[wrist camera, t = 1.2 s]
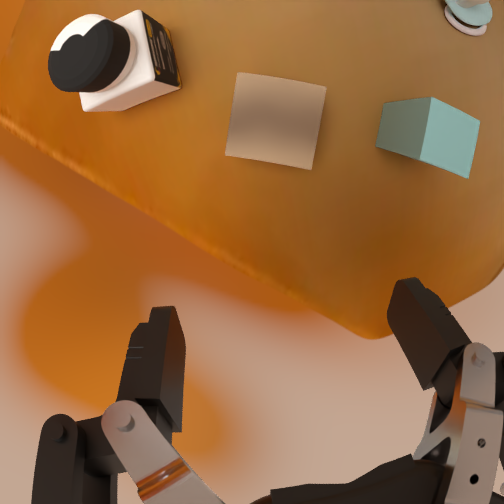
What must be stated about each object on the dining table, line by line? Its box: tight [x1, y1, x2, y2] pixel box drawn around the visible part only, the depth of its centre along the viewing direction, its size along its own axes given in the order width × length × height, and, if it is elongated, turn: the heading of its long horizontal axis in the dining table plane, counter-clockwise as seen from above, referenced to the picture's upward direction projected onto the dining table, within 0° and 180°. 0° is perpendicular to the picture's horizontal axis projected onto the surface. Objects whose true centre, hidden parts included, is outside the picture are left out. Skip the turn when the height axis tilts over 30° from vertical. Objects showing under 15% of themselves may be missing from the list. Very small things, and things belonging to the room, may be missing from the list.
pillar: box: [375, 97, 480, 179], centre depth 20 cm, size 4×4×10 cm
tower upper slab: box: [225, 72, 327, 170], centre depth 20 cm, size 6×6×4 cm
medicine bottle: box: [48, 10, 182, 112], centre depth 18 cm, size 7×7×12 cm
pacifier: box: [445, 0, 492, 36], centre depth 14 cm, size 7×6×6 cm
